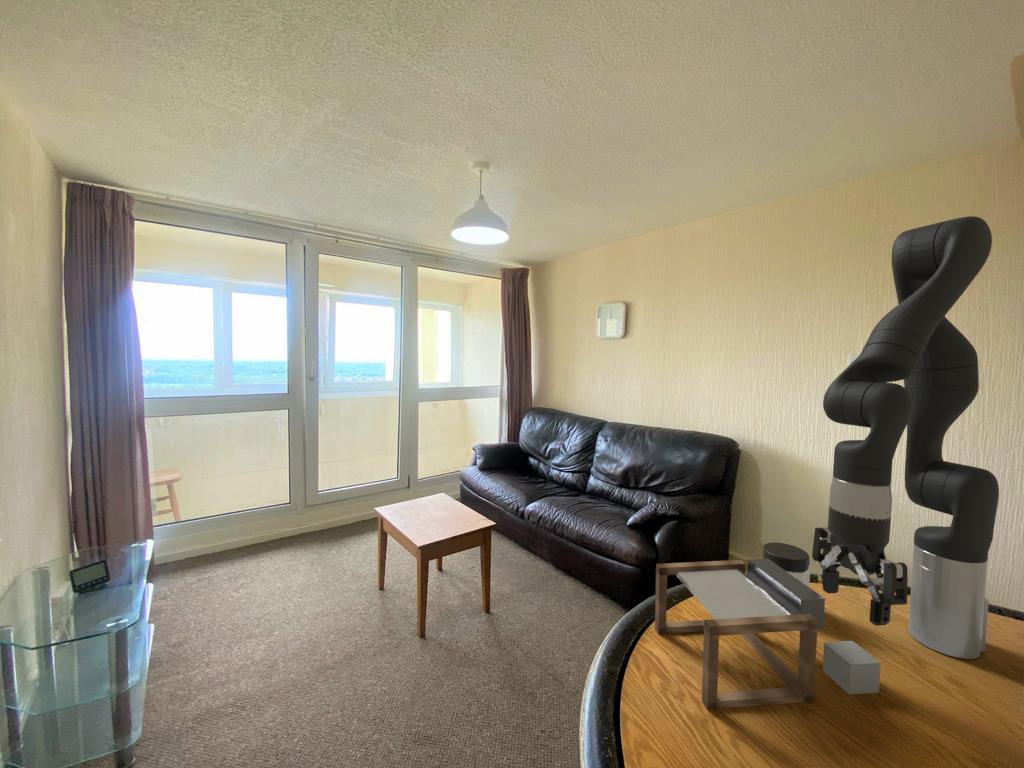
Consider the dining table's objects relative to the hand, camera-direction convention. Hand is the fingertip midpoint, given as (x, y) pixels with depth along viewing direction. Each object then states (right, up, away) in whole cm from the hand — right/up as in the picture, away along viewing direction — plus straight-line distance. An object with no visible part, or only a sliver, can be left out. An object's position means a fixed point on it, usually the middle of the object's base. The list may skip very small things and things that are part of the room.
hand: (852, 606), depth 67 cm
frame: (-17, -12, +5) cm, 22 cm away
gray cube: (0, -13, +1) cm, 13 cm away
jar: (+3, -11, +21) cm, 24 cm away
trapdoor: (-15, -3, +5) cm, 16 cm away
